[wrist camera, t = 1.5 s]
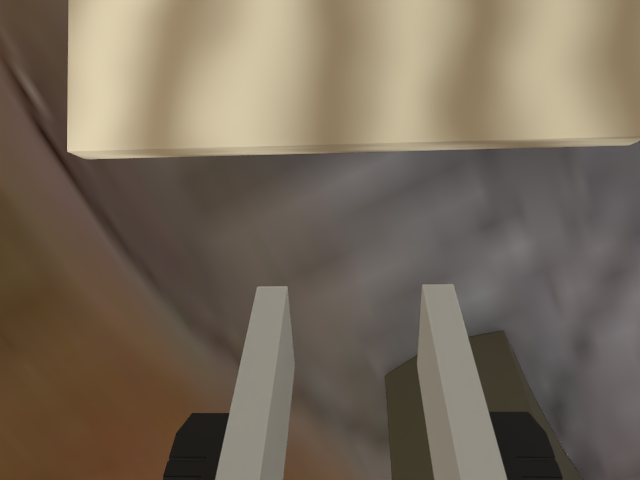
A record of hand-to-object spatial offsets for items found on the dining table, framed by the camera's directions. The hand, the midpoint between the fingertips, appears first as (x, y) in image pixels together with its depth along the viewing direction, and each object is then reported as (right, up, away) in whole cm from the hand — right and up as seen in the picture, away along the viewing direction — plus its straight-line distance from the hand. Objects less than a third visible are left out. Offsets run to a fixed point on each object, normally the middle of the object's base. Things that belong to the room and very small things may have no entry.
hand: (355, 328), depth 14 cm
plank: (+1, +11, +13) cm, 17 cm away
